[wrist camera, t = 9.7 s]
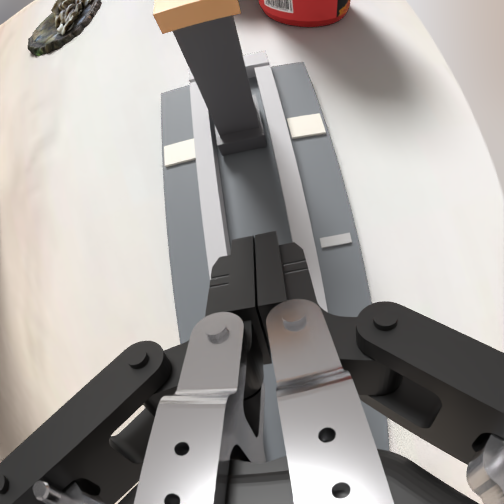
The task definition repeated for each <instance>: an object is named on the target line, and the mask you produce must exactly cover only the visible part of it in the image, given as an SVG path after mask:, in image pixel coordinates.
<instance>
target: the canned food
mask: <svg viewBox="0 0 504 504" xmlns="http://www.w3.org/2000/svg"><path fill="white" fill-rule="evenodd" d="M258 1H259V5H260V6H261V8H262V9H263V11H264V12H265V14H266V15H267V16H268V17H270V18H272V19H273V20H275V21H278V22H280V23H284V24H288V25H292V26H299V27H318V26H325V25H329V24H333V23H335V22H337V21H339V20H341V19H342V18H343V17H344V16H345V14H346V13H347V11H348V9H349V6H350V0H258Z"/></svg>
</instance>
